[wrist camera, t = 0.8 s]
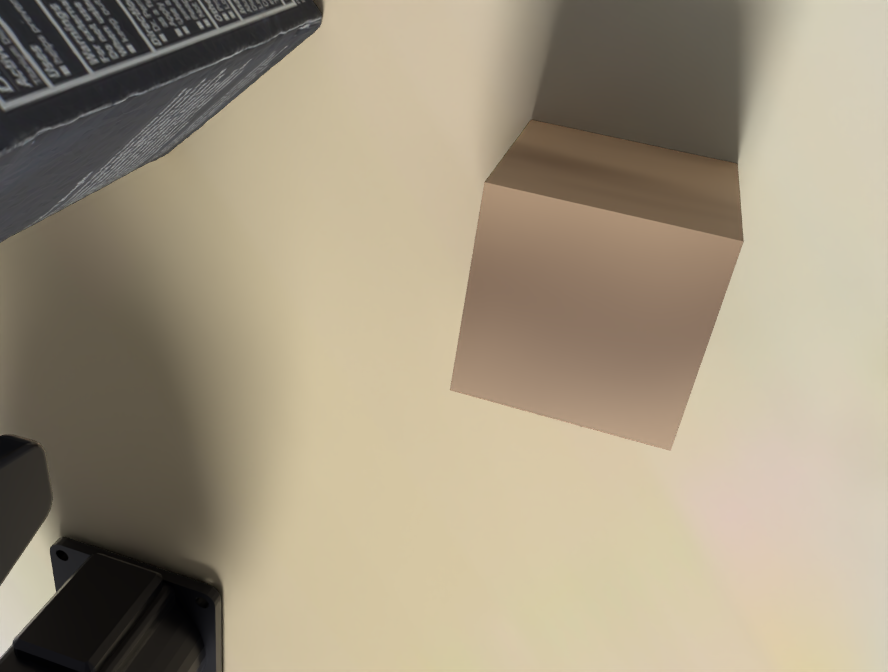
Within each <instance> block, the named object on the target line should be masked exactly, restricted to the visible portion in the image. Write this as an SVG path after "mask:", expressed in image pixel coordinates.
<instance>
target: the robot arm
mask: <svg viewBox="0 0 888 672" xmlns="http://www.w3.org/2000/svg"><path fill="white" fill-rule="evenodd" d="M52 500H53V493H52V487H51V481H50V475H49V469H48V463H47V457H46V452H45V449H44V448H43V446H42V445H41V444H40V443H38V442H37V441H33V440H30V439H26V438H23V437H19V436H16V435H2V436H0V586H1V584H2V583H3V581H4V580H5V578H6V577H7V575H8V574H9V572H10V571H11V569H12V568H13V566H14V565H15V563H16V562H17V560H18V559H19V557H20V556H21V555H22V553H23V552H24V550H25V549H26V547H27V546H28V544H29V543H30V541H31V540H32V538H33V537H34V535H35V534H36V532H37V531H38V529H39V528H40V526H41V525H42V523H43V522H44V520H45V519H46V517H47V515H48V513H49V511H50V509H51V505H52ZM50 555H51V562H52V568H53V575H54V581H55V587H56V593H55V594H54V596H53V597H52V598H51V599H50V600H49V601H48V602H47V603H46V604H45V605H44V607H43V608H42V609H41V610H40V611H39V612H38V613H37V614H36V615H35V616H34V617H33V619H32V620H31V621H30V622H29V623H28V624H27V625H26V626H25V627H24V628H23V630H22V631H21V632H20V633H19V634H18V635H17V636H16V637H15V639H14V640H13V644H12V645H11V646H10V648H9V649H8V650H7V651H6V652H5V653H4V654H3V655H2V656H1V657H0V672H222V647H221V596H220V594H219V592H218V591H217V590H216V589H215V588H214V587H213V586H210V585H208V584H206V583H203V582H200V581H197V580H194V579H191V578H188V577H185V576H182V575H179V574H176V573H173V572H170V571H167V570H164V569H161V568H158V567H155V566H152V565H149V564H146V563H143V562H140V561H137V560H134V559H131V558H127V557H124V556H121V555H118V554H115V553H112V552H109V551H106V550H103V549H100V548H97V547H94V546H91V545H88V544H85V543H82V542H79V541H76V540H73V539H70V538H67V537H61V538H59V539H58V540H57V541H56V542H55V543H54V544H53V545H52V546H51V547H50Z"/></svg>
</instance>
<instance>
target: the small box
mask: <svg viewBox="0 0 888 672" xmlns="http://www.w3.org/2000/svg"><path fill="white" fill-rule="evenodd" d="M321 21H322V15H321V12H320V11H319V9H318V7H317V6H316V5H315V3H314V2H313V1H312V0H0V243H1V242H2V241H4V240H5V239H7V238H9V237H11V236H13V235H15V234H17V233H18V232H20V231H22V230H24V229H26V228H28V227H30V226H32V225H34V224H36V223H38V222H40V221H41V220H43V219H45V218H46V217H48V216H50V215H52V214H54V213H56V212H59V211H60V210H62V209H64V208H66V207H67V206H69V205H71V204H73V203H75V202H77V201H79V200H81V199H82V198H84V197H86V196H88V195H89V194H91V193H93V192H95V191H98V190H100V189H102V188H103V187H105V186H107V185H109V184H110V183H112V182H114V181H116V180H117V179H119V178H121V177H123V176H125V175H127V174H129V173H130V172H132V171H134V170H136V169H137V168H139V167H142V166H143V165H145V164H147V163H149V162H152V161H155V160H157V159H158V158H160V157H163V156H164V155H166V154H167V153H169V152H170V151H171V150H173V149H174V148H175V147H176V146H177V145H178V144H180V143H182V142H183V141H184V140H185V139H186V138H188V137H189V136H190V135H191V134H192V133H193V132H195V131H196V130H198V129H199V128H200V127H202V126H203V125H204V124H205V123H206V122H207V121H208V120H209V119H210V118H212V117H213V116H214V115H215V114H217V113H218V112H219V111H220V110H222V109H223V108H224V107H225V106H226V105H227V104H228V103H230V102H231V101H232V100H233V99H235V98H236V97H237V96H238V95H239V94H241V93H242V92H243V91H244V90H246V89H247V88H248V87H249V86H250V85H251V84H253V83H254V82H255V81H256V80H258V79H259V78H260V77H261V76H262V75H263V74H264V73H266V72H267V71H268V70H269V69H270V68H271V67H273V66H274V65H275V64H277V63H278V62H279V61H281V60H282V59H283V58H284V57H285V56H286V55H287V54H289V53H290V52H291V51H292V50H293V49H295V48H296V47H297V46H298V45H299V44H301V43H302V42H303V41H304V40H305V39H306V38H308V37H309V36H310V35H312V34H313V33H314V32H315V31H316V30H317V29H318V28H319V27H320V25H321Z"/></svg>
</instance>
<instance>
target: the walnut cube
mask: <svg viewBox="0 0 888 672" xmlns="http://www.w3.org/2000/svg"><path fill="white" fill-rule="evenodd" d="M743 242H744V241H743V228H742V215H741V202H740V189H739V176H738V164H737V163H732V162H727V161H723V160H718V159H713V158H709V157H704V156H699V155H695V154H690V153H685V152H681V151H676V150H671V149H666V148H662V147H657V146H652V145H648V144H643V143H638V142H634V141H629V140H624V139H620V138H615V137H610V136H605V135H601V134H596V133H591V132H587V131H582V130H577V129H573V128H568V127H563V126H559V125H554V124H549V123H545V122H540V121H535V120H530V122H529V123H528V124H527V126H526V127H525V128H524V130H523V131H522V132H521V134H520V135H519V137H518V138H517V139H516V141H515V142H514V143H513V145H512V146H511V147H510V149H509V150H508V151H507V153H506V154H505V155H504V157H503V158H502V159H501V161H500V162H499V164H498V165H497V166H496V168H495V169H494V170H493V172H492V173H491V174H490V176H489V177H488V178H487V180H486V181H485V183H484V189H483V195H482V201H481V207H480V213H479V219H478V225H477V231H476V237H475V243H474V249H473V255H472V261H471V267H470V273H469V279H468V285H467V291H466V297H465V303H464V309H463V315H462V321H461V327H460V333H459V339H458V345H457V351H456V357H455V363H454V369H453V375H452V381H451V387H450V390H451V391H455V392H459V393H462V394H466V395H470V396H473V397H477V398H480V399H484V400H488V401H491V402H495V403H499V404H502V405H506V406H510V407H513V408H517V409H520V410H524V411H528V412H531V413H535V414H539V415H542V416H546V417H550V418H553V419H557V420H561V421H564V422H568V423H571V424H575V425H579V426H582V427H586V428H590V429H593V430H597V431H601V432H604V433H608V434H612V435H615V436H619V437H622V438H626V439H630V440H633V441H637V442H641V443H644V444H648V445H652V446H655V447H659V448H663V449H666V450H670V451H671V448H672V445H673V442H674V439H675V436H676V434H677V431H678V428H679V425H680V422H681V419H682V416H683V414H684V411H685V408H686V405H687V402H688V399H689V396H690V393H691V391H692V388H693V385H694V382H695V379H696V376H697V373H698V371H699V368H700V365H701V362H702V359H703V356H704V353H705V351H706V348H707V345H708V342H709V339H710V336H711V333H712V330H713V328H714V325H715V322H716V319H717V316H718V313H719V310H720V308H721V305H722V302H723V299H724V296H725V293H726V290H727V287H728V285H729V282H730V279H731V276H732V273H733V270H734V267H735V265H736V262H737V259H738V256H739V253H740V250H741V247H742V244H743Z"/></svg>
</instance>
